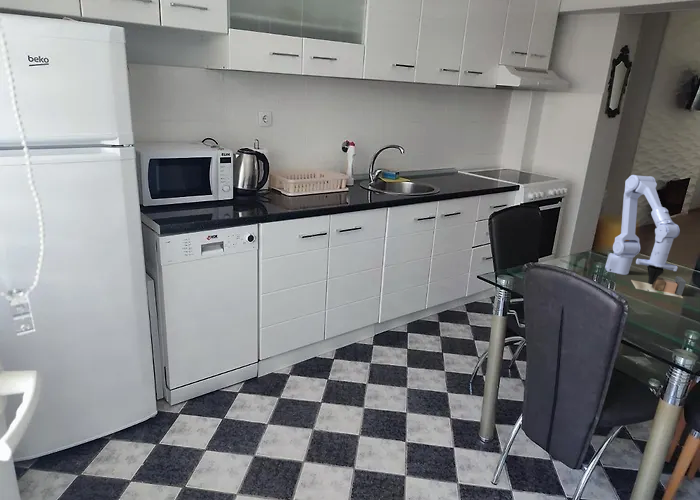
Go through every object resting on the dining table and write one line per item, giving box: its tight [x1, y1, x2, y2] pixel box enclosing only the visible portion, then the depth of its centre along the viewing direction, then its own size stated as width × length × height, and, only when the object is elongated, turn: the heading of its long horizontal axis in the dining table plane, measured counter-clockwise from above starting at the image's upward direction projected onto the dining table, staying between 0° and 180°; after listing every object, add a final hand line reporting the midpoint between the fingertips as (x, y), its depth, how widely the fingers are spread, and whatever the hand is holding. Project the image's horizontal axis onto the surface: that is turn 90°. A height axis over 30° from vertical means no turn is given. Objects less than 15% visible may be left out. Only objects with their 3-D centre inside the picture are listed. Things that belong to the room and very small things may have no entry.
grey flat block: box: [674, 275, 687, 297], centre depth 199 cm, size 2×6×7 cm, turn 161°
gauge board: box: [630, 279, 684, 299], centre depth 202 cm, size 17×11×1 cm, turn 71°
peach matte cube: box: [663, 278, 678, 294], centre depth 200 cm, size 4×4×4 cm
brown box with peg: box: [652, 276, 666, 291], centre depth 200 cm, size 3×6×4 cm, turn 161°
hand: (650, 283), depth 202 cm, fingers closed
